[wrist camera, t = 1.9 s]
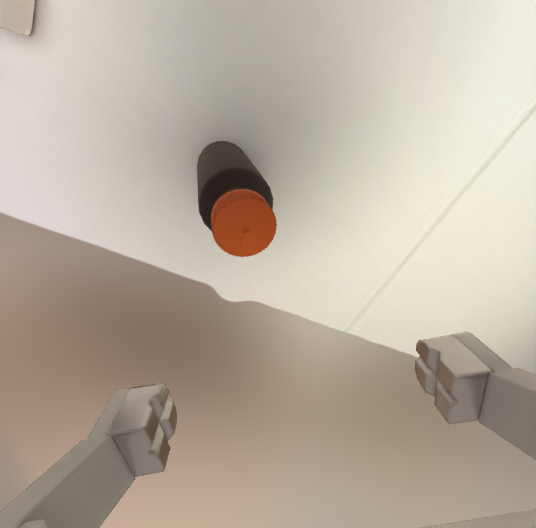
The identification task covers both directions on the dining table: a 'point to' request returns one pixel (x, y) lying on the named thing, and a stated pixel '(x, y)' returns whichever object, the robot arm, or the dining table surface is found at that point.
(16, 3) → the pepper shaker
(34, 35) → the dining table surface
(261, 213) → the bottle
